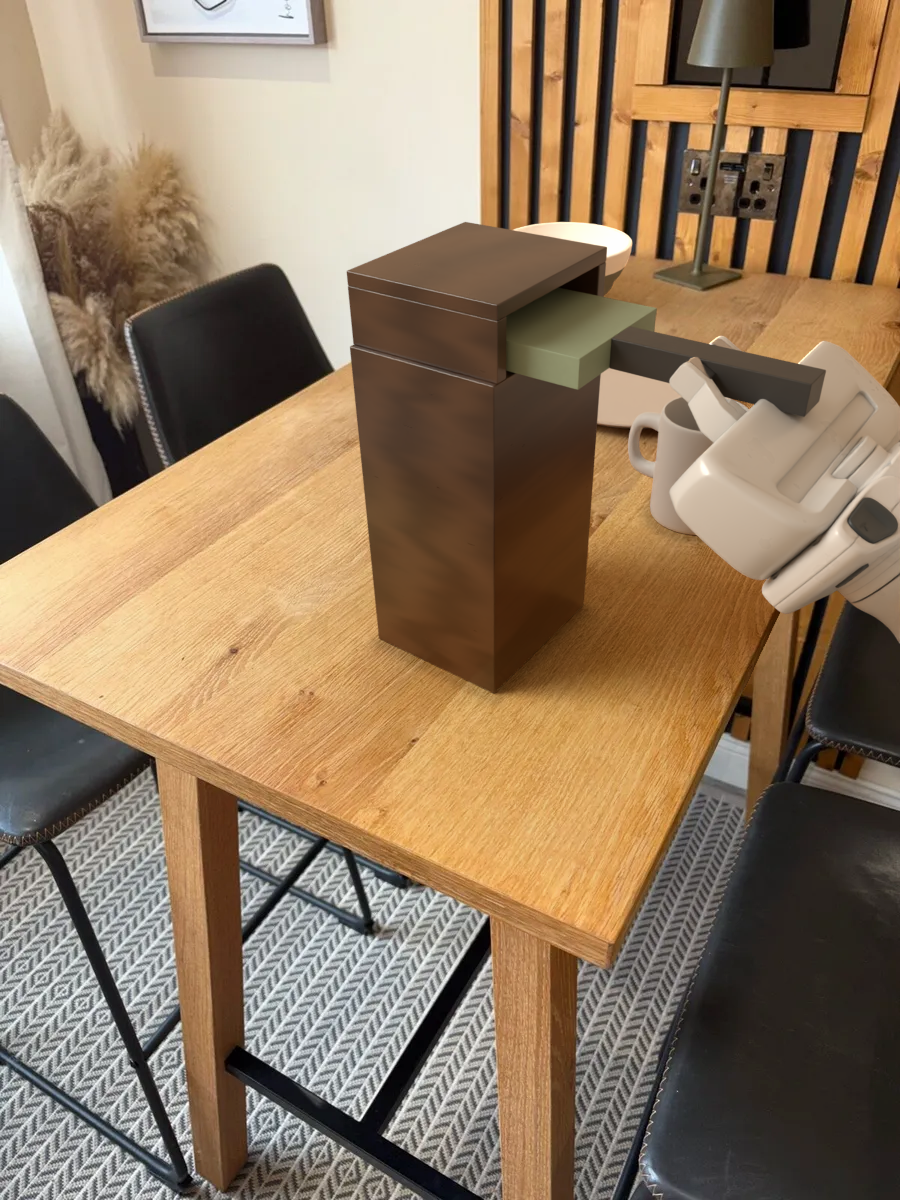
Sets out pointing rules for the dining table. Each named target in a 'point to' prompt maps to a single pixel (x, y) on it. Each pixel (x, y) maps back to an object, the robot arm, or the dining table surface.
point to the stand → (471, 449)
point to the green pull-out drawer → (641, 351)
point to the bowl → (591, 242)
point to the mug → (668, 455)
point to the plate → (630, 398)
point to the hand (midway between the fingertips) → (693, 357)
